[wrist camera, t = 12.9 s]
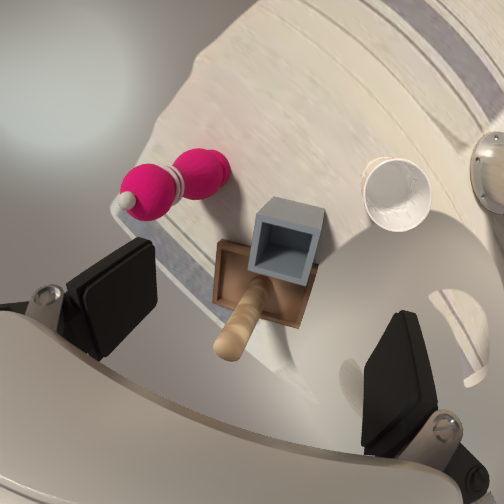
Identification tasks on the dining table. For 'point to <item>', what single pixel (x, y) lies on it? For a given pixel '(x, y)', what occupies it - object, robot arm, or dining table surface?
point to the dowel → (243, 320)
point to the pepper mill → (172, 183)
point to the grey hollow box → (285, 240)
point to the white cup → (395, 193)
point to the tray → (239, 278)
